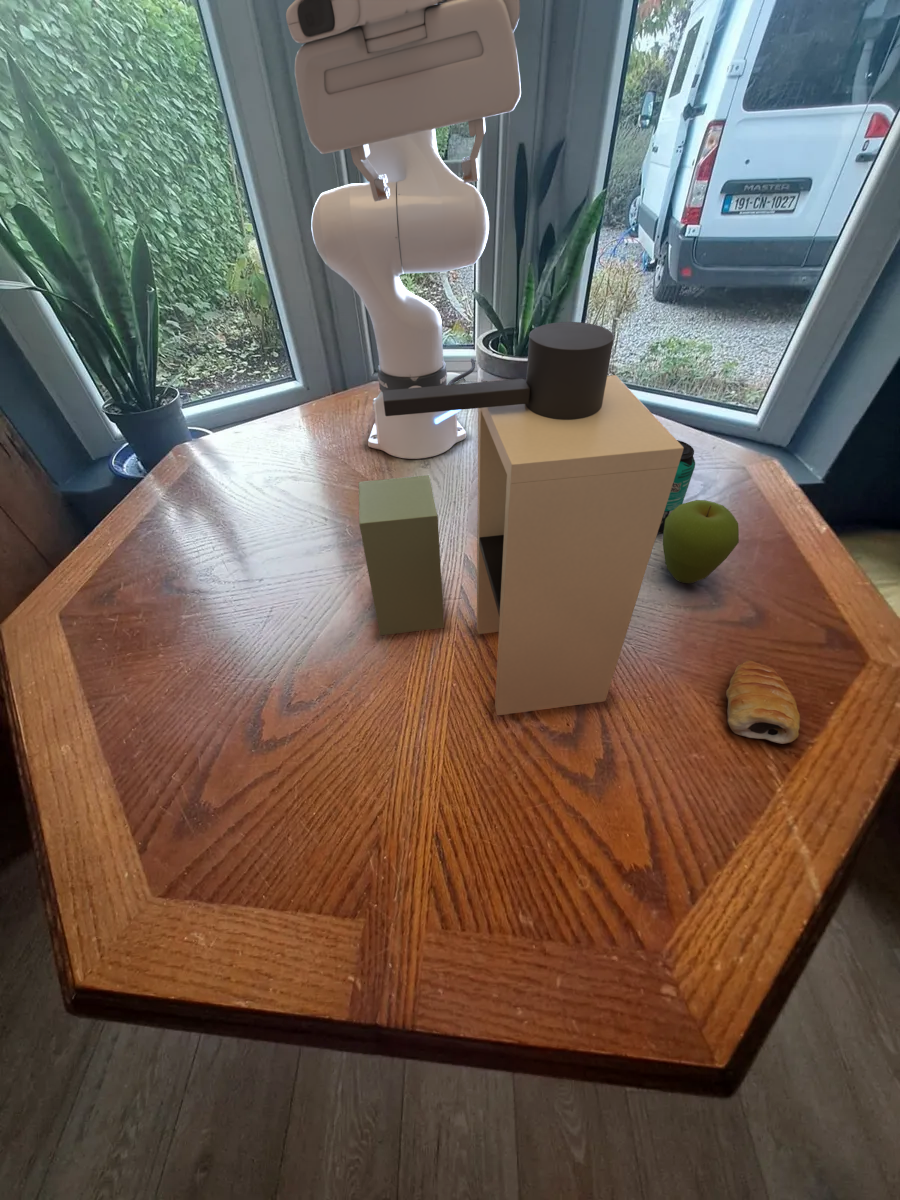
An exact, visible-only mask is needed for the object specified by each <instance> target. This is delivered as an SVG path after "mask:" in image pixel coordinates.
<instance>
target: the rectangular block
mask: <svg viewBox="0 0 900 1200" xmlns="http://www.w3.org/2000/svg"><path fill="white" fill-rule="evenodd" d="M438 515H439V514H438V509H437V505H436V500H435V496H434V490H433V485H432V480H431V475H430V474H427V475H415V476H405V477H404V476H403V477H394V478H385V479H384V478H383V479H374V480H363V481H358V525H359V530H360V536H361V541H362V547H363V550H364V551H363V552H364V557H365V562H366V563H365V564H366V568H367V573H368V578H369V584H370V589H371V593H372V600H373V605H374V610H375V615H376V623H377V626H378V627H377V628H378V632H379V636H389V635H397V634H405V633H413V632H421V631H430V630H437V629H445V620H444V619H445V618H444V604H443V603H444V602H443V601H444V600H443V584H442V582H443V581H442V568H441V567H442V565H441V549H440V548H441V547H440V532H439V529H440V528H439V516H438Z"/></svg>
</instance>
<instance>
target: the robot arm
mask: <svg viewBox="0 0 900 1200" xmlns="http://www.w3.org/2000/svg"><path fill="white" fill-rule="evenodd" d="M520 16H521V0H294V1H293V2H292V3H291V4H290V5H289V6H288V8H287V9H286V12H285V20H286V24H287V27H288V31H289V33H290V36H291V38H292V39H293V41H294V42H295V43H297V44H301V46H300V47H299V49H298V51H297V52H296V55H295V59H294V77H295V84H296V88H297V89H296V91H297V94H298V100H299V104H300V109H301V113H302V117H303V121H304V125H305V128H306V132H307V135H308V138H309V141H310V143H311V145H312V146H313V147H314V148H315V149H316V150H317V151H318V152H319V153H320V154H322V155H326V154H330V153H331V154H332V153H335V152H339V151H343V150H347V149H349V150H350V151H349V152H350V155H351V159H352V163H353V165H354V166H355V167H356V168H357V169H358V171H359V172H360V173H361V175H362V176H363V177H364V179H365V180H366V181H367V182H363V183H360V182H359V183H349V184H345V185H341V186H338V187H335V188H332V189H329V190H326V191H323V192H321V193H320V194H319V196H318V198H317V200H316V201H315V203H314V207H313V209H312V215H311V234H312V240H313V243H314V245H315V248H316V251H317V253H318V254H319V256H320V258H321V260H322V261H323V262H324V264H325V265H326V266H327V267H328V268H329V269H330V270H331V271H333V272H335V274H337V275H339V276H340V277H341V278H342V279H344V280H345V281H346V282H347V283H348V284H349V285H350V286H351V287H352V289H353V290H354V292H356V294H357V295H358V296H359V298H360V299H361V301H362V303H363V304H364V306H365V308H366V310H367V313H368V315H369V317H370V321H371V324H372V329H373V333H374V338H375V343H376V349H377V356H378V364H379V365H378V366H377V382H378V387H379V390H380V392H379V394H378V396H376V397H375V398H373V399H372V410H373V412H374V423H373V426H372V428H371V432H370V434H369V436H368V440H367V445H368V448H372V449H375V450H381V451H383V452H384V453H386V454H388V455H390V456H392V457H395V458H402V459H407V460H408V459H409V460H416V459H417V460H419V459H420V460H421V459H428V458H431V457H436V456H438V455H441V454H444V453H445V452H447V451H449V450H450V449H451V448H453V446H454V445H456V443H459V442H461V441H463V440H465V439H466V438H467V431H466V429H465V428H464V427H463V425H461V423H460V422H459V421H458V417H457V416H458V415H457V413H459V412H461V410H451V411H440V412H429V413H418V414H407V415H396V416H385V409H384V401H383V391H384V390H396V389H408V388H419V387H431V386H443V385H454V384H455V383H456V382H457V381H458V382H459V381H460V380H462V379H463V378H465V377H468V376H469V375H471V374H472V373H473V372H474V371H475V369H476V360H475V358H474V357H471V359H470V363H471V367H470V368H469V369H468V370H467V371H465V372H463V373H460V374H459V375H457V376H455V377H453V378H452V379H450V381H447V380H448V371H447V365H446V362H445V360H444V344H443V340H444V339H443V321H442V317H441V314H440V313H439V310H437V308H436V307H435V306H434V305H433V304H432V303H431V302H429V301H427V300H426V299H424V298H423V297H420V296H419V295H416V294H414V293H412V292H411V291H409V290H408V289H407V288H406V287H405V285H404V284H403V282H402V280H401V278H400V276H401V275H404V274H421V273H422V274H425V273H427V274H428V273H447V272H450V271H454V270H459V269H462V268H466V267H469V266H472V265H475V264H476V263H477V262H478V260H479V259H480V257H482V255H483V252H484V250H485V248H486V245H487V242H488V239H489V234H490V233H489V231H490V220H489V219H490V217H489V212H488V207H487V205H486V202H485V200H484V198H483V196H482V195H481V193H480V191H479V190H478V189H477V188H476V186H474V185H472V184H471V183H474V182H479V181H480V171H479V161H478V156H479V154H480V150H481V147H482V144H483V140H484V137H485V133H486V129H487V128H486V118H489V117H494V116H498V115H502V114H506V113H511V112H513V111H514V110H515V109H516V106H517V105H518V103H519V101H520V99H521V95H522V88H521V87H522V86H521V74H520V66H519V56H518V50H517V49H518V48H517V44H516V39H515V38H516V37H515V33H514V32H515V31H516V29H517V27H518V24H519V20H520ZM462 123H467V124H468V132H469V136H470V137H475V139H474V142H473V145H472V149H471V152H470V155H469V156H464V157H462V158H461V161H460V164H461V171H462V173H463V174H462V178H461V177H459V176H458V175H456V174H455V173H454V172H453V171H452V170H451V169H450V168H449V167H448V165H446V163H445V162H444V160H443V159H442V158H441V156H440V153H439V151H438V144H437V136H436V129H441V128H445V127H449V126H455V125H459V124H462Z"/></svg>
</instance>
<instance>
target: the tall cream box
mask: <svg viewBox="0 0 900 1200" xmlns="http://www.w3.org/2000/svg"><path fill="white" fill-rule="evenodd" d="M477 410H478V411H477V505H476V506H477V510H476V511H477V516H476V517H477V521H476V522H477V524H476V526H477V528H476V532H477V533H476V543H477V544H476V631H477V634H478V635H483V634H492V633H498V639H497V641H498V642H497V659H496V660H497V661H496V678H495V695H494V696H495V698H494V709H495V713H496V716H505V715H513V714H521V713H526V712H527V713H528V712H535V711H541V710H549V709H557V708H564V707H566V708H567V707H572V706H573V707H574V706H579V705H588V704H595V703H603V702H606V701H607V698H608V694H609V690H610V688H611V685H612V681H613V678H614V675H615V671H616V669H617V665H618V662H619V659H620V656H621V652H622V649H623V645H624V642H625V640H626V637H627V633H628V630H629V627H630V623H631V619H632V618H633V613H634V611H635V607H636V605H637V601H638V597H639V595H640V591H641V588H642V584H643V582H644V578H645V574H646V571H647V568H648V565H649V562H650V560H651V556H652V552H653V549H654V546H655V543H656V540H657V537H658V533H659V532H658V530H659V527H660V523H661V520H662V517H663V514H664V510H665V507H666V504H667V501H668V498H669V494H670V491H671V488H672V485H673V481H674V478H675V475H676V472H677V469H678V465H679V462H680V459H681V456H682V452H683V449H684V447H683V446H682V445H681V444H680V443H679V442H678V441H677V440H678V439H676V438H675V436H674V435H673V434H672V433H671V432H669V430H668V429H667V428H666V426H664V425H663V423H661V421H659V419H658V418H657V417H656V416H655V415H654V414H653V413H652V411H650V410H649V409H648V408H647V407H646V405H644V404H643V402H642V401H641V400H640V399H639V398H638V397H637V396H636V395H635V393H634V392H632V390H631V389H630V388H629V387H627V385H626V384H625V383H624V382H623V380H621V379H620V378H619V377H618V376H617V374H613V375H612V374H611V375H607V380H606V386H605V391H604V397H603V403H602V407H601V409H600V410H599V411H598V412H597V413H595V414H593V415H591V416H589V417H585V418H580V419H572V420H561V419H552V418H547V417H543V416H540V415H538V414H535V413H533V412H532V411H530V410H529V409H528V408H527V407H526V405H525V404H518V405H507V406H496V407H485V408H477Z"/></svg>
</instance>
